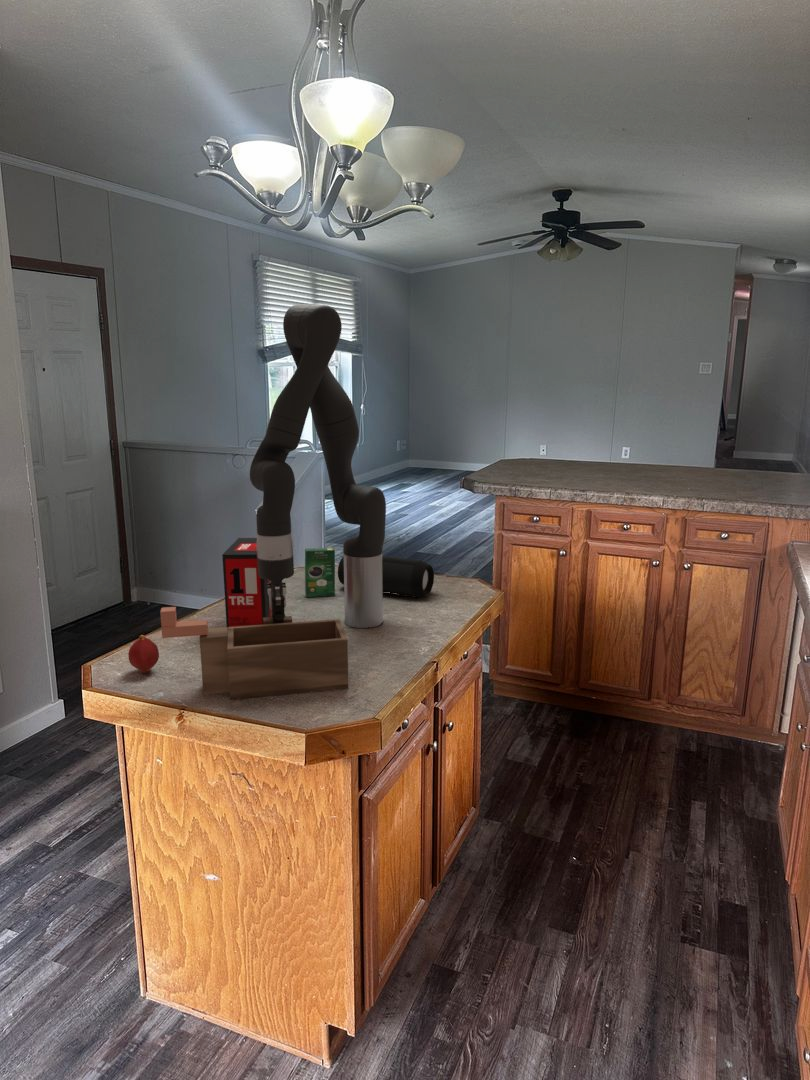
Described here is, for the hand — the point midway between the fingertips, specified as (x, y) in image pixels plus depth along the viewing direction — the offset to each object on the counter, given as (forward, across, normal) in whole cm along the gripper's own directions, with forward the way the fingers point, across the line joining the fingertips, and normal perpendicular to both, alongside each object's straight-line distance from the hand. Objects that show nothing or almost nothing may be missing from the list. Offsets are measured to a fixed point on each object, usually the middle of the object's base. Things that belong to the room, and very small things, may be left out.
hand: (278, 631), depth 157 cm
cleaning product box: (+5, +17, +5) cm, 18 cm away
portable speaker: (+5, +39, -31) cm, 50 cm away
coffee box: (+5, +39, -13) cm, 41 cm away
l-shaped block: (-7, -16, +18) cm, 25 cm away
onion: (+5, -5, +27) cm, 28 cm away
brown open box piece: (+5, -16, +2) cm, 17 cm away
